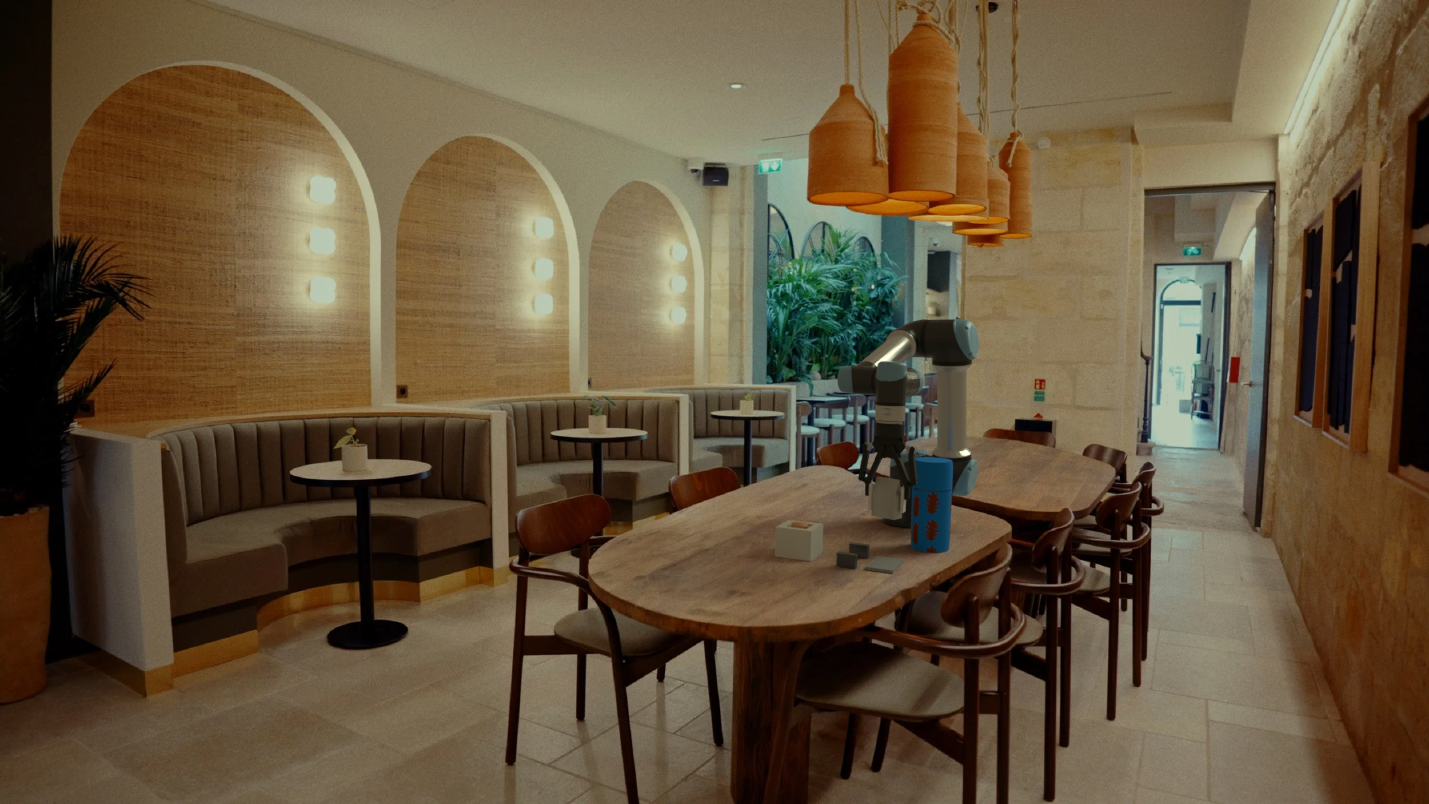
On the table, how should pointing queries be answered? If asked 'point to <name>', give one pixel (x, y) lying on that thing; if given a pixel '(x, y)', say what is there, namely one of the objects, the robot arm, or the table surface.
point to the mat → (885, 564)
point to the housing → (799, 541)
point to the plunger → (800, 525)
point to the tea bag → (886, 498)
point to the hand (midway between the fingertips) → (886, 510)
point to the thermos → (932, 505)
